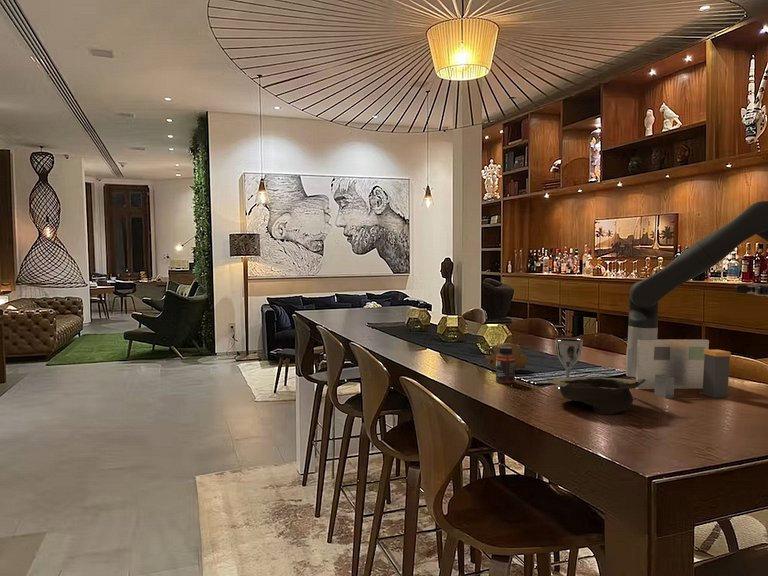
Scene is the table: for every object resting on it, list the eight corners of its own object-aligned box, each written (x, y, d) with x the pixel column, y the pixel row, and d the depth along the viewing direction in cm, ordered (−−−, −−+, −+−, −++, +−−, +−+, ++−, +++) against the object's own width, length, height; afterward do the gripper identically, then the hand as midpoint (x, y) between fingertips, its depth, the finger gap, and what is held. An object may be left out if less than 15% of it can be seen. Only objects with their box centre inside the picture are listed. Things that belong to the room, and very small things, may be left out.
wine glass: (580, 386, 182) (582, 338, 182) (580, 391, 175) (582, 342, 174) (554, 384, 185) (556, 337, 184) (553, 389, 178) (554, 340, 177)
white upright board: (703, 391, 180) (706, 339, 179) (741, 403, 165) (744, 347, 164) (635, 391, 176) (637, 339, 175) (667, 404, 161) (670, 347, 160)
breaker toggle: (716, 393, 172) (718, 349, 171) (728, 397, 167) (730, 352, 166) (701, 393, 171) (703, 349, 170) (713, 397, 166) (715, 352, 165)
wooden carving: (522, 368, 211) (523, 341, 211) (529, 370, 207) (530, 342, 206) (481, 370, 206) (482, 342, 206) (488, 372, 202) (489, 344, 201)
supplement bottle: (516, 381, 187) (517, 346, 187) (512, 385, 182) (513, 349, 181) (497, 379, 190) (499, 345, 189) (493, 383, 184) (494, 347, 184)
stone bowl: (638, 423, 141) (636, 385, 140) (536, 414, 154) (534, 380, 154) (652, 401, 162) (650, 368, 161) (561, 395, 175) (560, 365, 175)
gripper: (776, 277, 178) (729, 276, 175) (818, 278, 164) (767, 277, 161) (775, 301, 178) (728, 300, 176) (816, 305, 164) (766, 304, 162)
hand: (747, 289), depth 169 cm, fingers open, 8 cm apart
